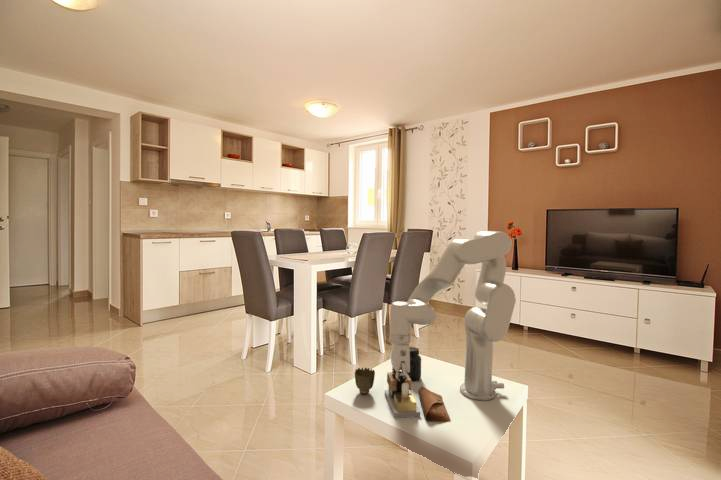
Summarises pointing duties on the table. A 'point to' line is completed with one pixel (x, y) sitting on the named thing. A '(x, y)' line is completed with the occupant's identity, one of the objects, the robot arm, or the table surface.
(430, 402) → the sunglasses case
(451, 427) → the table surface
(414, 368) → the supplement bottle
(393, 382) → the collar
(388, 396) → the parts board
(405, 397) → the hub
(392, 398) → the stand rod
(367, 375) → the cup
